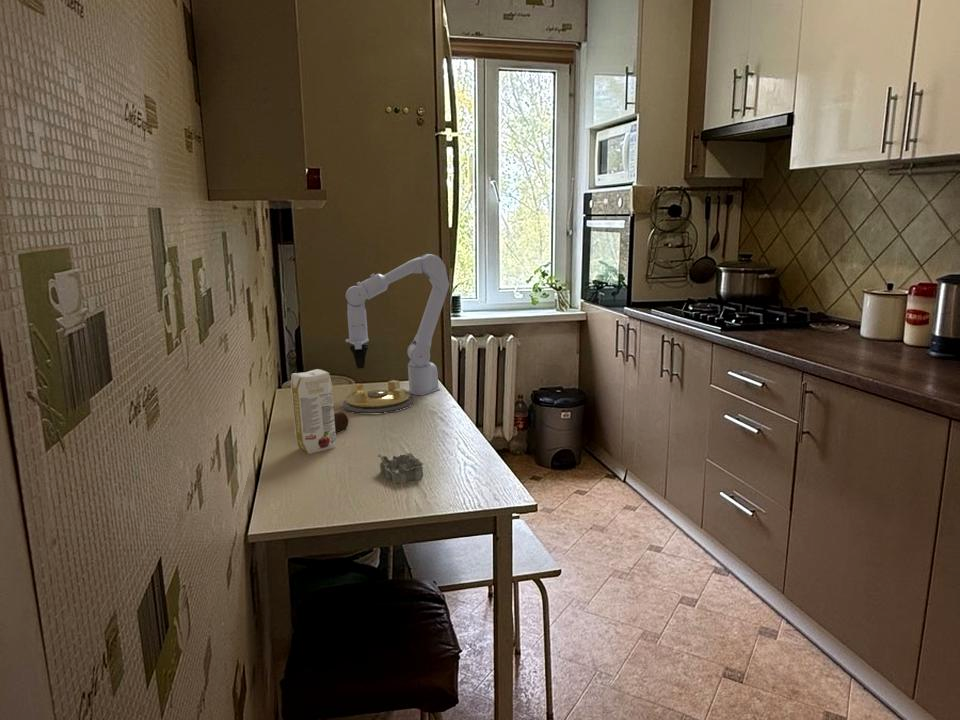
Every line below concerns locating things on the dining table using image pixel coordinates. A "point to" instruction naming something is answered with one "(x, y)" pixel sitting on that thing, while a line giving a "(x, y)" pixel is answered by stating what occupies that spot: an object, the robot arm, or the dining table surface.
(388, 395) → the round tray
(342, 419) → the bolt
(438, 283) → the robot arm
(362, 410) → the grey plate
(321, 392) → the juice carton
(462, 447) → the dining table surface
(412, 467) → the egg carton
